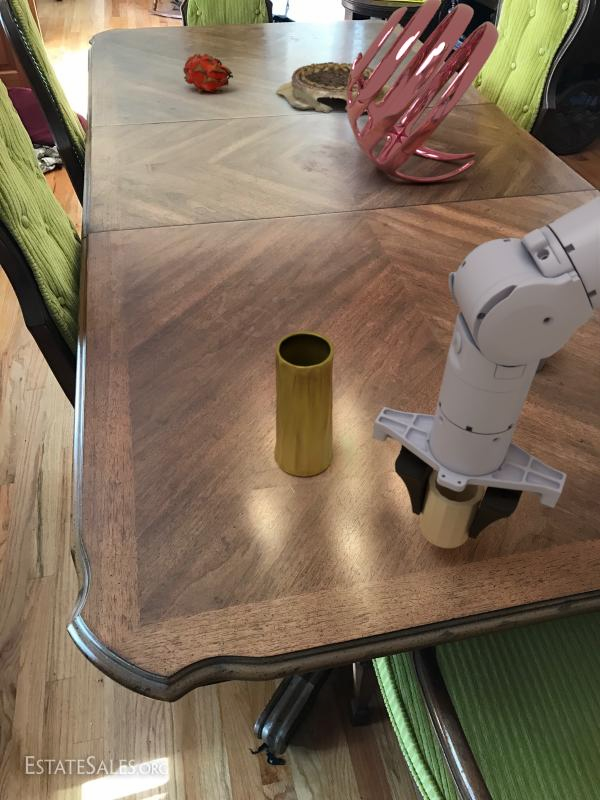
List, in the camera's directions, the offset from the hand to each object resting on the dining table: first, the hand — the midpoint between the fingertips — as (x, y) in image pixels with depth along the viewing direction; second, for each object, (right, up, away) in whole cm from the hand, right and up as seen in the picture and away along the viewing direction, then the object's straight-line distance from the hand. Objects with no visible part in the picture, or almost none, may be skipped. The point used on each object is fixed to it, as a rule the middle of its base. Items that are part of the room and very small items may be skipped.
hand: (446, 517), depth 53 cm
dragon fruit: (-34, +83, +93) cm, 129 cm away
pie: (-4, +81, +90) cm, 122 cm away
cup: (0, -1, +1) cm, 1 cm away
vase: (-12, +4, +11) cm, 17 cm away
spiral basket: (+8, +54, +62) cm, 83 cm away
